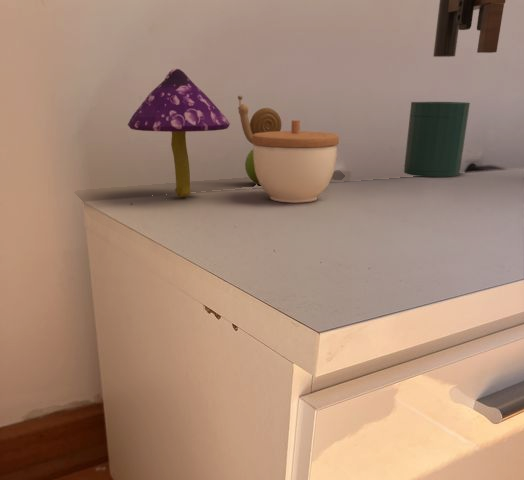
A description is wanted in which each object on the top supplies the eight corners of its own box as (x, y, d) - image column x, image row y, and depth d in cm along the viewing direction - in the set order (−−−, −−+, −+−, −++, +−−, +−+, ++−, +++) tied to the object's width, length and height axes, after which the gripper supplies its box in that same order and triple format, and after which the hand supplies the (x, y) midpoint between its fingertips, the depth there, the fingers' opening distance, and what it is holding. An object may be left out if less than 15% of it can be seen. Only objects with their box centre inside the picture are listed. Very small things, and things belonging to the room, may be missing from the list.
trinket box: (289, 209, 67) (292, 124, 63) (235, 197, 74) (234, 119, 70) (352, 199, 73) (358, 121, 69) (296, 188, 80) (298, 117, 76)
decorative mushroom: (182, 186, 82) (176, 70, 75) (250, 196, 75) (250, 69, 68) (113, 198, 73) (99, 68, 66) (183, 211, 66) (175, 66, 59)
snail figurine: (235, 182, 86) (234, 95, 80) (276, 181, 87) (277, 95, 82) (242, 188, 81) (242, 95, 76) (286, 186, 82) (288, 95, 77)
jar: (443, 169, 101) (452, 101, 96) (469, 176, 93) (480, 103, 88) (395, 170, 99) (402, 101, 95) (418, 177, 91) (427, 103, 87)
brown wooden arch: (500, 52, 76) (512, -19, 72) (479, 51, 75) (489, -20, 72) (448, 57, 88) (456, -4, 85) (429, 56, 88) (436, -4, 84)
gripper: (460, -143, 67) (440, 26, 74) (564, -134, 69) (535, 28, 77) (430, -123, 73) (415, 31, 81) (526, -115, 76) (503, 33, 83)
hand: (473, 29), depth 79 cm, fingers closed on brown wooden arch, 2 cm apart
